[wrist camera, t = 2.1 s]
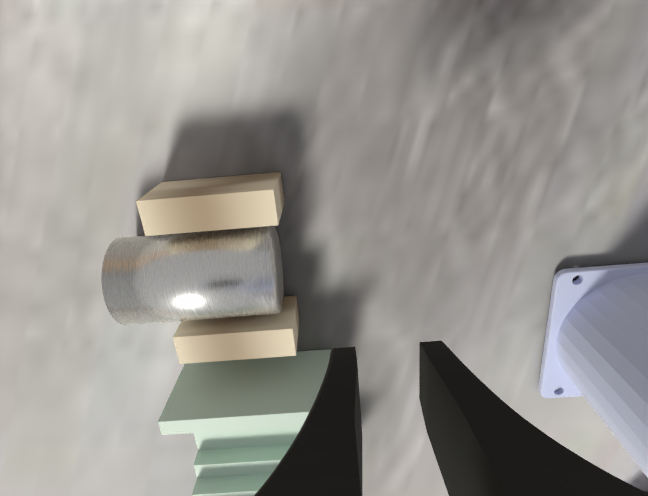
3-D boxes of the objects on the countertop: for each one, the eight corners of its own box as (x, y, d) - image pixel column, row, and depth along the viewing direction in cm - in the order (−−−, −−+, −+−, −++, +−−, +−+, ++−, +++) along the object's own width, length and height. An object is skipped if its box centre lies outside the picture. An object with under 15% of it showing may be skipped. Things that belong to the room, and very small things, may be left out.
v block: (330, 349, 23) (332, 410, 19) (340, 454, 27) (344, 526, 22) (186, 359, 24) (157, 421, 20) (213, 463, 27) (193, 535, 23)
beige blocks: (280, 171, 20) (273, 189, 17) (299, 320, 23) (296, 355, 20) (162, 181, 20) (135, 201, 17) (197, 327, 23) (179, 363, 20)
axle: (275, 213, 20) (265, 246, 17) (285, 286, 22) (278, 331, 18) (132, 224, 21) (91, 260, 17) (152, 296, 22) (119, 342, 19)
